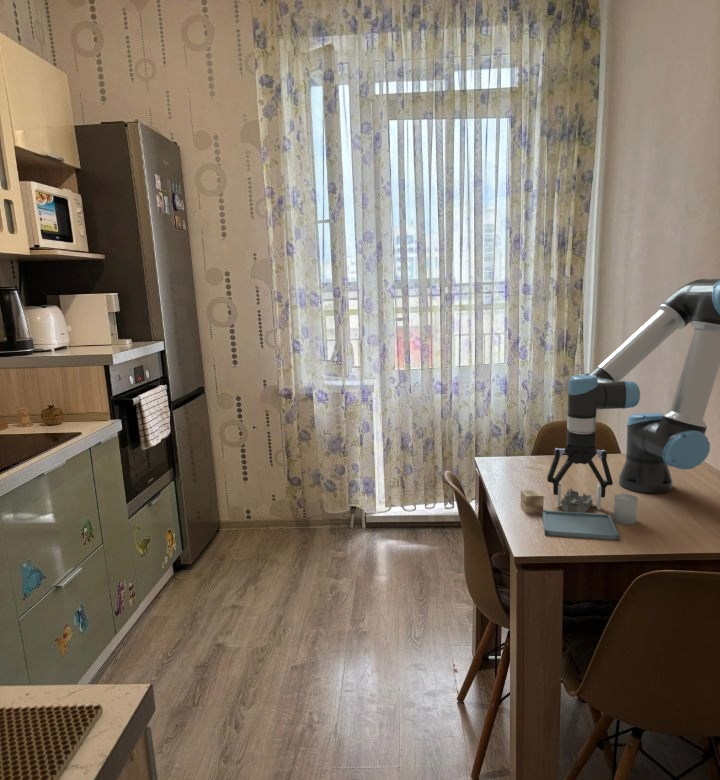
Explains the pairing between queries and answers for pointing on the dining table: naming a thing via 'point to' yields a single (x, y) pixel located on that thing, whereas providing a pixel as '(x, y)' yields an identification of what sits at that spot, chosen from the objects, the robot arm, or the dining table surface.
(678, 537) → the dining table surface
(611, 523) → the tray
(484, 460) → the dining table surface
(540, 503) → the oak block
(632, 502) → the white cylinder
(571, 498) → the grey castle model
